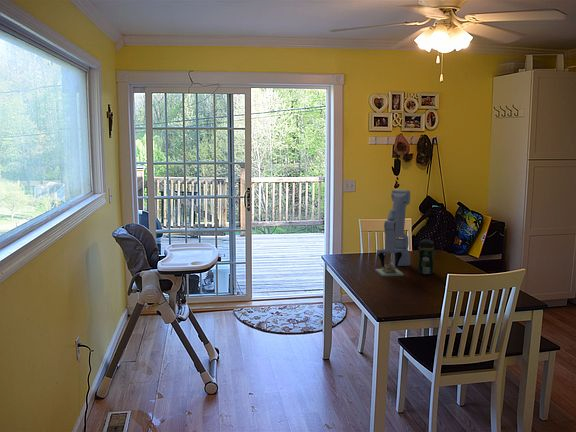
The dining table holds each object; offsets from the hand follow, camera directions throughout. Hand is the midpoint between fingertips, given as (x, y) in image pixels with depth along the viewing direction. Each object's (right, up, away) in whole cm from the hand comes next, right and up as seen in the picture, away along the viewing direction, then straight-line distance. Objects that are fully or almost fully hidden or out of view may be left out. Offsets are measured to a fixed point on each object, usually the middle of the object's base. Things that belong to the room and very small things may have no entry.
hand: (389, 266), depth 281 cm
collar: (0, -3, +1) cm, 3 cm away
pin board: (0, -4, +1) cm, 4 cm away
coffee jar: (+20, -4, +2) cm, 21 cm away
